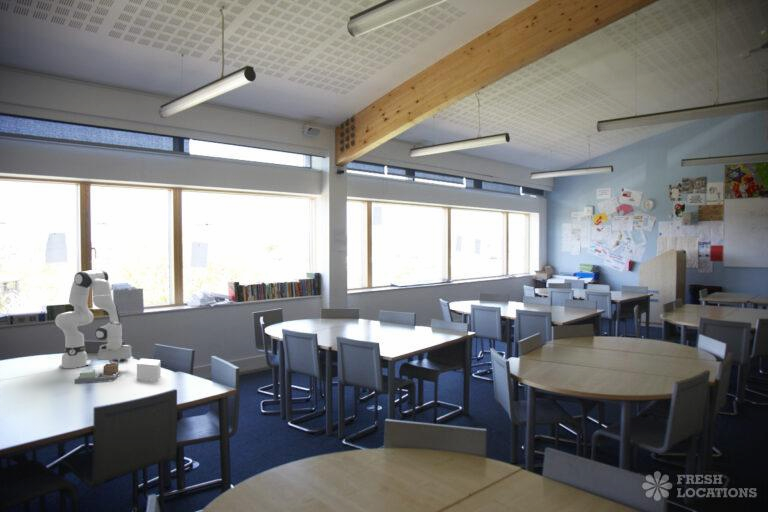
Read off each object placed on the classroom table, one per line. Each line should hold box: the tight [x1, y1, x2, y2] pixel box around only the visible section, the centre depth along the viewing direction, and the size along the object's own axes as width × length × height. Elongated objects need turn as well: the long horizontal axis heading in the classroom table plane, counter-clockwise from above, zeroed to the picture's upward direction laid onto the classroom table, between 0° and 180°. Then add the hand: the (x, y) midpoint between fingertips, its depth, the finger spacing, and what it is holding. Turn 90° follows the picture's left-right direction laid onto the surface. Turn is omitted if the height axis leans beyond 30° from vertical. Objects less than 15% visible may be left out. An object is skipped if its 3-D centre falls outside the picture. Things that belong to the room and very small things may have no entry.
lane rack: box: [74, 371, 120, 384], centre depth 300 cm, size 15×22×2 cm
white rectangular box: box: [136, 357, 161, 382], centre depth 304 cm, size 14×29×10 cm, turn 46°
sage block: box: [79, 368, 96, 379], centre depth 296 cm, size 8×7×6 cm
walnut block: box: [102, 361, 119, 376], centre depth 316 cm, size 15×7×6 cm, turn 18°
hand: (114, 365), depth 323 cm, fingers closed on walnut block
